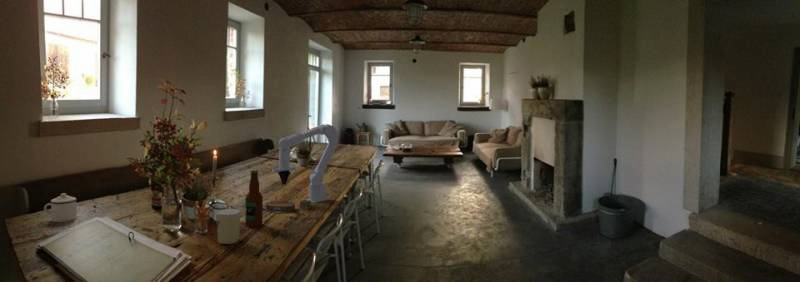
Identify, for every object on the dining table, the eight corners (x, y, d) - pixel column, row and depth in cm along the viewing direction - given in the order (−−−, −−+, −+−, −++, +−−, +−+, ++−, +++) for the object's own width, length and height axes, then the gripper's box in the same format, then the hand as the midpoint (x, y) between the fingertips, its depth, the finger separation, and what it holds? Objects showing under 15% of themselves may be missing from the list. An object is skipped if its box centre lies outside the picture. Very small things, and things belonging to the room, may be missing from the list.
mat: (271, 204, 227) (271, 203, 227) (291, 211, 216) (291, 210, 216) (257, 206, 221) (257, 206, 221) (277, 214, 210) (277, 213, 210)
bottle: (245, 223, 193) (245, 169, 190) (261, 222, 196) (262, 169, 193) (245, 228, 186) (245, 172, 184) (262, 227, 189) (263, 172, 186)
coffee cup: (220, 236, 174) (220, 208, 173) (243, 236, 175) (243, 208, 174) (212, 244, 165) (212, 214, 164) (236, 244, 166) (237, 215, 165)
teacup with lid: (81, 216, 192) (80, 191, 191) (70, 222, 183) (69, 196, 182) (50, 216, 189) (49, 191, 188) (38, 222, 181) (37, 196, 179)
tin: (297, 203, 221) (291, 205, 213) (297, 208, 221) (291, 212, 213) (269, 200, 223) (263, 203, 214) (269, 206, 223) (262, 209, 214)
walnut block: (304, 207, 226) (304, 199, 225) (310, 208, 224) (310, 200, 223) (299, 208, 222) (300, 201, 221) (306, 209, 220) (306, 202, 220)
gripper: (291, 158, 239) (290, 181, 240) (268, 160, 228) (268, 184, 229) (298, 159, 235) (298, 183, 236) (276, 161, 223) (275, 187, 225)
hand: (284, 184), depth 232 cm, fingers closed
